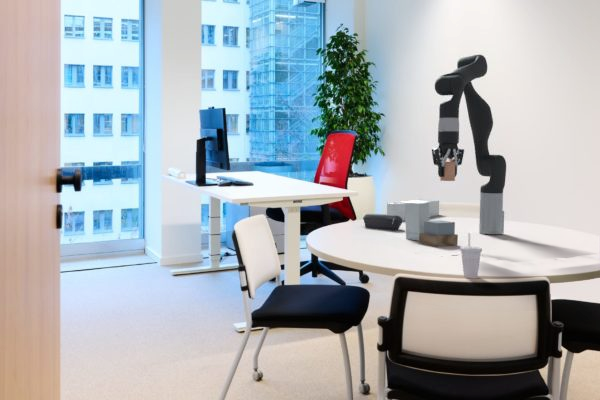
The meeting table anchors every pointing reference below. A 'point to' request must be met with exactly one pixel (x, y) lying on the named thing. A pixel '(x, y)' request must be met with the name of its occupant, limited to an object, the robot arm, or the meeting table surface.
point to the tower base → (438, 240)
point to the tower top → (439, 227)
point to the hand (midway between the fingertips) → (447, 176)
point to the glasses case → (382, 221)
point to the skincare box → (416, 219)
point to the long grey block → (399, 207)
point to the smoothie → (470, 259)
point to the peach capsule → (448, 172)
